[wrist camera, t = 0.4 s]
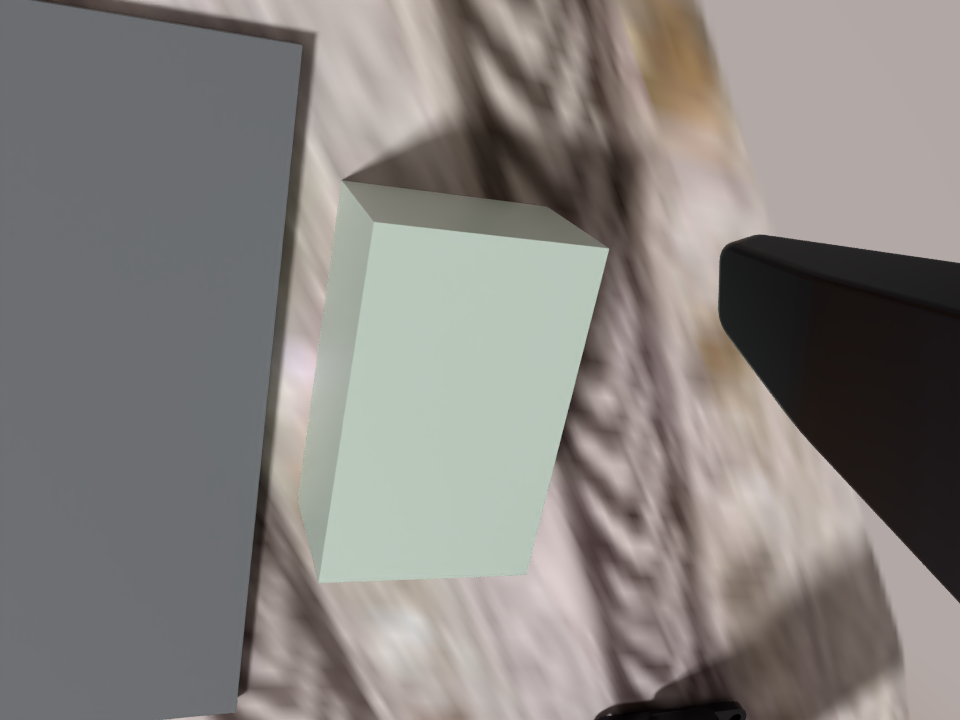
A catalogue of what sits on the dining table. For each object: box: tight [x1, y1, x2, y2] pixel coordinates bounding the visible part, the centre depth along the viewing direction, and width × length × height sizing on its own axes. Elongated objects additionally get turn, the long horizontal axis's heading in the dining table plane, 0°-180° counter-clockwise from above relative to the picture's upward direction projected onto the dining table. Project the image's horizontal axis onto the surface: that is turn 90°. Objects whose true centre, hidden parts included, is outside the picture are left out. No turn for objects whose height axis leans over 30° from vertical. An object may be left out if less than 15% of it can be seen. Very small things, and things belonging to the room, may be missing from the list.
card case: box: [298, 180, 609, 583], centre depth 22 cm, size 9×6×4 cm, turn 168°
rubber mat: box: [0, 0, 303, 720], centre depth 21 cm, size 19×11×1 cm, turn 169°
